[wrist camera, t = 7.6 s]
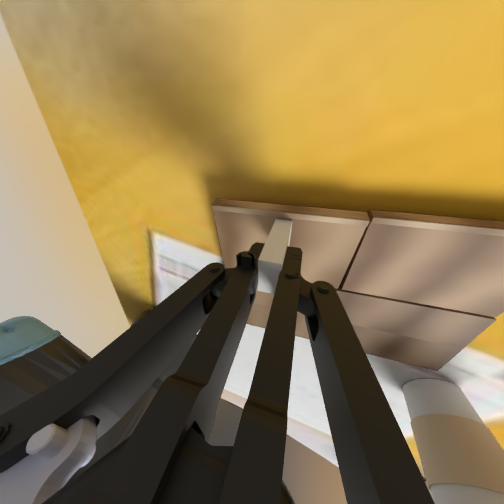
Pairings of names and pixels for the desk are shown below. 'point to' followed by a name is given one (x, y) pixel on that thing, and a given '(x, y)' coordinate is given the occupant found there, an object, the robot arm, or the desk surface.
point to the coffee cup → (454, 445)
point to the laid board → (395, 327)
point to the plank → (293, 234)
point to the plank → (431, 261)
